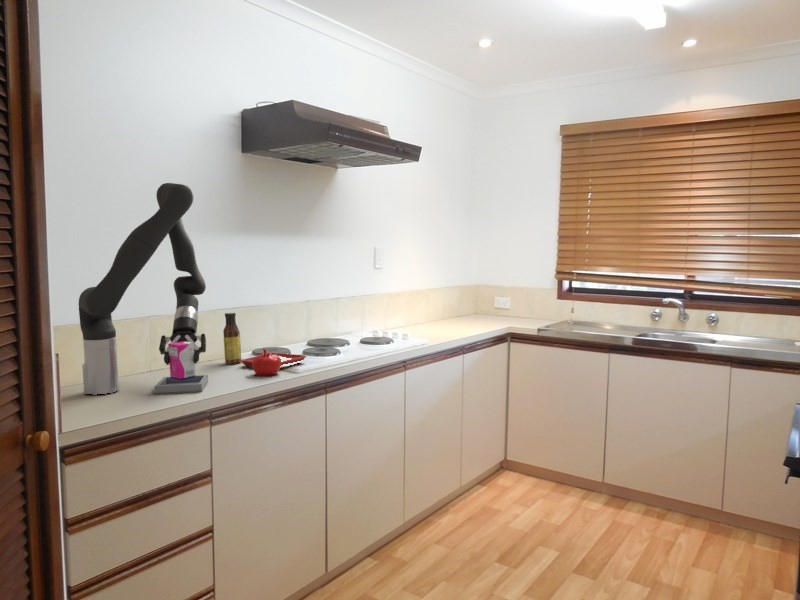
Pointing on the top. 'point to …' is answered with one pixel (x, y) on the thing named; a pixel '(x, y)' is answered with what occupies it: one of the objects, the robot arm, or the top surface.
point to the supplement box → (181, 360)
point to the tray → (181, 385)
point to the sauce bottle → (231, 340)
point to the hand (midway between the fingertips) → (181, 362)
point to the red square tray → (294, 357)
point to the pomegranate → (266, 364)
